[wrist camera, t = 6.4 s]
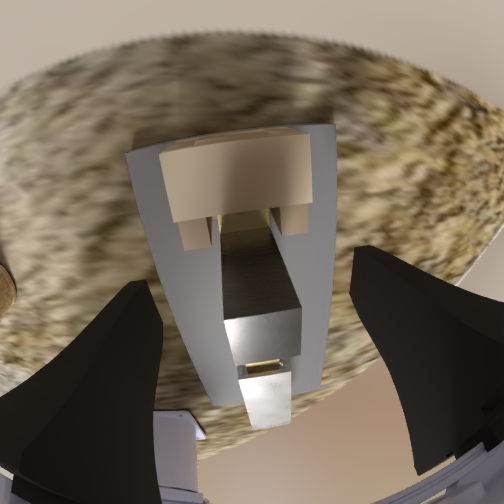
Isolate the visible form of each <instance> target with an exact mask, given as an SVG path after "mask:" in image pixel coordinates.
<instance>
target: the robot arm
mask: <svg viewBox="0 0 504 504" xmlns="http://www.w3.org/2000/svg"><path fill="white" fill-rule="evenodd" d="M349 294H350V297H351V299H352V302H353V304H354V307H355V309H356V311H357V313H358V316H359V318H360V319H361V321H362V323H363V325H364V327H365V328H366V330H367V332H368V334H369V335H370V337H371V339H372V340H373V342H374V344H375V346H376V347H377V349H378V351H379V353H380V355H381V356H382V358H383V360H384V362H385V364H386V366H387V368H388V370H389V372H390V374H391V377H392V380H393V382H394V385H395V387H396V390H397V393H398V396H399V399H400V402H401V405H402V408H403V412H404V415H405V419H406V423H407V427H408V431H409V435H410V440H411V446H412V452H413V458H414V467H415V469H416V472H417V475H418V476H420V475H421V474H423V473H425V472H427V471H429V470H431V469H432V468H434V467H436V466H438V465H439V464H441V463H443V462H444V461H446V460H447V459H449V458H450V457H452V456H455V458H456V460H455V461H454V462H452V463H451V464H450V465H448V466H446V467H445V468H443V469H441V470H440V471H438V472H436V473H434V474H433V475H431V476H429V477H427V478H426V479H424V480H422V481H420V482H418V483H416V484H414V485H412V486H411V487H408V488H406V489H405V490H402V491H400V492H398V493H396V494H393V495H391V496H389V497H387V498H384V499H382V500H379V501H377V502H374V503H372V504H420V503H422V502H423V501H425V500H427V499H429V498H431V497H432V496H434V495H436V494H437V493H439V492H441V491H442V490H444V489H446V488H447V489H446V492H445V494H444V495H441V496H439V497H437V498H435V499H433V500H430V501H428V502H426V503H424V504H504V302H499V301H496V300H493V299H490V298H487V297H483V296H480V295H477V294H475V293H472V292H469V291H467V290H464V289H462V288H459V287H457V286H454V285H452V284H450V283H447V282H445V281H443V280H441V279H439V278H437V277H435V276H432V275H430V274H428V273H426V272H424V271H422V270H420V269H418V268H416V267H414V266H412V265H411V264H409V263H407V262H405V261H403V260H401V259H399V258H397V257H395V256H393V255H391V254H389V253H387V252H385V251H383V250H381V249H378V248H376V247H374V246H371V245H367V246H361V247H355V248H354V258H353V268H352V276H351V285H350V292H349ZM162 343H163V322H162V319H161V317H160V314H159V312H158V310H157V307H156V305H155V302H154V300H153V297H152V295H151V292H150V290H149V287H148V284H147V282H146V279H145V280H138V281H131V282H129V283H128V284H127V285H126V286H124V287H123V288H122V289H121V290H120V291H119V292H118V293H117V295H116V296H115V297H114V298H113V299H112V300H111V301H110V302H109V303H108V304H107V305H106V306H105V307H104V308H103V310H102V311H101V312H100V313H99V314H98V315H97V316H96V317H95V318H94V319H93V320H92V321H91V322H90V324H89V325H88V326H87V327H86V328H85V329H84V330H83V331H82V332H81V333H80V334H79V335H78V336H77V337H76V338H75V339H74V340H73V341H72V342H71V343H70V344H69V345H68V346H67V347H66V348H65V349H64V350H63V351H61V352H60V353H59V354H58V355H57V356H56V357H55V358H54V359H53V360H51V361H50V362H49V363H48V364H46V365H45V366H44V367H43V368H41V369H40V370H39V371H38V372H36V373H35V374H34V375H32V376H31V377H30V378H29V379H27V380H26V381H24V382H23V383H22V384H20V385H19V386H17V387H16V388H14V389H12V390H11V391H9V392H8V393H6V394H4V395H3V396H1V397H0V466H1V467H2V468H4V469H5V470H7V471H9V472H10V473H12V474H14V476H13V480H11V479H9V478H8V477H6V476H4V475H2V474H1V473H0V504H212V503H211V502H210V501H209V500H207V499H205V498H203V494H202V493H198V474H197V442H196V439H206V435H205V433H204V432H203V431H202V429H201V428H200V426H199V425H198V424H197V422H196V421H195V419H194V418H193V416H192V415H191V413H190V412H189V411H154V400H155V393H156V386H157V379H158V372H159V366H160V360H161V353H162Z"/></svg>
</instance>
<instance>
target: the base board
mask: <svg viewBox="0 0 504 504" xmlns="http://www.w3.org/2000/svg"><path fill="white" fill-rule="evenodd" d="M273 127H288V128H292V129H295V130H298V131H302V132H305V133H308V134H310V148H311V169H312V200H313V203H308V233H301V234H294V235H287V236H282V235H281V233H280V231H279V229H278V227H277V225H276V223H275V221H274V218H273V216H272V214H271V212H270V211H269V212H268V213H269V225H270V229H271V231H272V234H273V236H274V239H275V241H276V243H277V246H278V248H279V251H280V253H281V256H282V258H283V261H284V263H285V266H286V268H287V271H288V273H289V276H290V278H291V281H292V283H293V286H294V288H295V291H296V293H297V296H298V299H299V301H300V304H301V306H302V332H301V355H298V356H293V357H288V361H289V365H290V369H291V395H295V394H299V393H304V392H309V391H313V390H317V389H320V383H321V377H322V371H323V364H324V357H325V350H326V343H327V335H328V327H329V318H330V309H331V299H332V288H333V275H334V261H335V243H336V217H337V149H336V124H330V123H311V124H291V125H277V126H265V127H255V128H246V129H238V130H230V131H223V132H216V133H210V134H204V135H198V136H192V137H187V138H182V139H177V140H172V141H167V142H162V143H158V144H154V145H149V146H145V147H141V148H137V149H133V150H130V151H128V152H126V153H125V156H126V161H127V165H128V170H129V174H130V179H131V183H132V187H133V191H134V195H135V199H136V203H137V206H138V210H139V214H140V217H141V221H142V224H143V228H144V231H145V235H146V238H147V241H148V245H149V248H150V251H151V254H152V257H153V260H154V263H155V266H156V269H157V272H158V275H159V278H160V281H161V284H162V287H163V290H164V292H165V295H166V298H167V301H168V303H169V306H170V309H171V311H172V314H173V316H174V319H175V322H176V324H177V327H178V329H179V332H180V334H181V337H182V339H183V341H184V344H185V346H186V348H187V351H188V353H189V355H190V358H191V360H192V362H193V365H194V367H195V369H196V371H197V373H198V376H199V378H200V380H201V382H202V384H203V386H204V388H205V390H206V393H207V395H208V397H209V399H210V401H211V403H212V405H213V406H221V405H231V404H239V403H245V401H244V398H243V394H242V391H241V387H240V384H239V380H238V371H237V366H235V363H234V359H233V355H232V351H231V347H230V343H229V339H228V336H227V332H226V328H225V323H224V317H223V296H222V272H221V243H220V230H219V224H218V219H214V220H212V247H206V248H200V249H193V250H187V251H184V247H183V243H182V239H181V235H180V231H179V227H178V223H177V222H175V223H174V222H173V218H172V213H171V209H170V205H169V200H168V196H167V191H166V187H165V182H164V178H163V173H162V168H161V163H160V158H159V154H160V153H161V152H162V151H164V150H165V149H166V148H167V147H169V146H170V145H171V144H173V143H174V142H175V141H180V140H185V139H191V138H196V137H202V136H208V135H214V134H221V133H228V132H236V131H244V130H252V129H262V128H273Z"/></svg>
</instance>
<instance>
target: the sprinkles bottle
mask: <svg viewBox="0 0 504 504" xmlns="http://www.w3.org/2000/svg"><path fill="white" fill-rule="evenodd" d="M15 301H16V289H15V286H14V283H13V281H12V279H11V277H10V275H9V274H8V272H7V271H6V270H5V268H4V267H3V266H2V265H1V264H0V321H1V319H2V318H3V316H4V315H5V313H6V312H7V311H8V309H9V308H10V306H12V305H13V304H14V303H15Z"/></svg>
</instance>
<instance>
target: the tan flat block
mask: <svg viewBox="0 0 504 504" xmlns="http://www.w3.org/2000/svg"><path fill="white" fill-rule="evenodd" d="M217 218H218V224H219V230H220V243H221V272H222V296H223V317H224V323H225V328H226V332H227V336H228V339H229V343H230V347H231V351H232V355H233V359H234V363H235V366H239V365H246V367H247V372H248V375H249V374H256V373H262V372H268V371H274V370H280V364H279V359H283V358H288V357H293V356H298V355H301V332H302V306H301V304H300V301H299V299H298V296H297V293H296V291H295V288H294V286H293V283H292V281H291V278H290V276H289V273H288V271H287V268H286V266H285V263H284V261H283V258H282V256H281V253H280V251H279V248H278V246H277V243H276V241H275V239H274V236H273V234H272V231H271V229H270V225H269V213H268V208H266V209H259V210H252V211H245V212H238V213H231V214H224V215H218V216H217Z"/></svg>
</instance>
